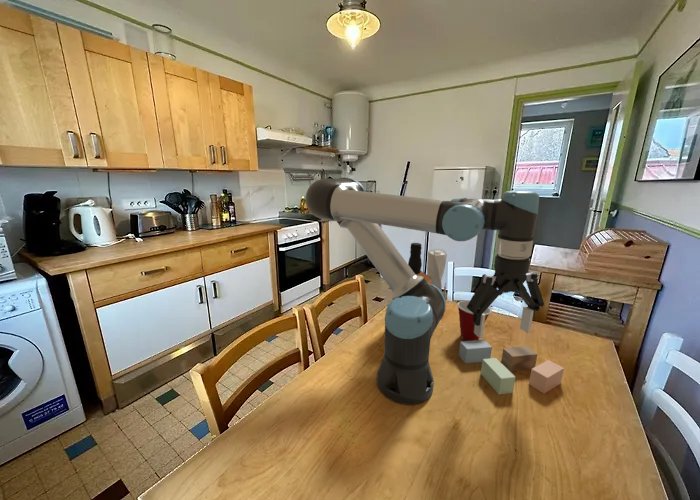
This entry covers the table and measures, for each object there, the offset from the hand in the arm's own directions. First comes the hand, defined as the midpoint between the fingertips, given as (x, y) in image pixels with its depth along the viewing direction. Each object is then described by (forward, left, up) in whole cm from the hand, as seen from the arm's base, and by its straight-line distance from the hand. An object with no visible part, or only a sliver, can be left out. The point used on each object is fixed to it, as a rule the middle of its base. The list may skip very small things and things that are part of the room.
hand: (501, 333), depth 75 cm
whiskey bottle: (-13, +31, -15) cm, 37 cm away
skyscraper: (0, +41, -15) cm, 44 cm away
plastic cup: (+5, +21, -15) cm, 26 cm away
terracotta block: (+13, -3, -15) cm, 20 cm away
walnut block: (+11, +5, -15) cm, 19 cm away
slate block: (0, +10, -15) cm, 18 cm away
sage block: (0, -1, -15) cm, 15 cm away
